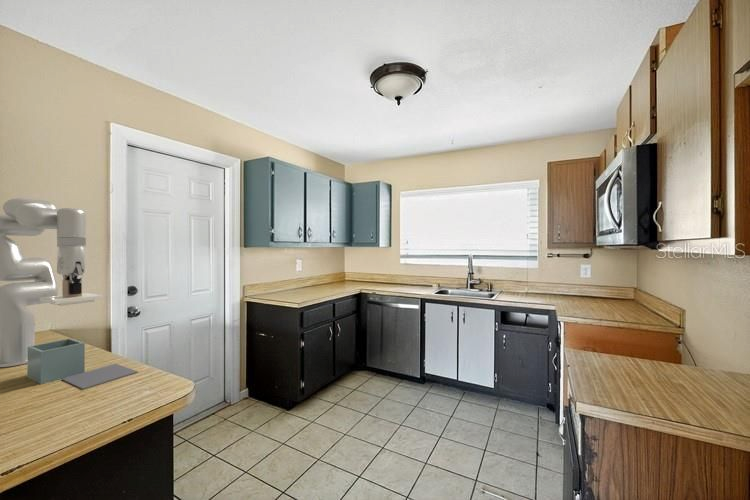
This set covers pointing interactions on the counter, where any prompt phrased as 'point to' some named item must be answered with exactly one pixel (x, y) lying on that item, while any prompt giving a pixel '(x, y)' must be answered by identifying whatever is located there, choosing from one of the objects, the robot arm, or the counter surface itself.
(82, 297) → the lid
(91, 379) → the mat
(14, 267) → the robot arm
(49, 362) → the teal storage bin
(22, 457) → the counter surface
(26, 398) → the counter surface
